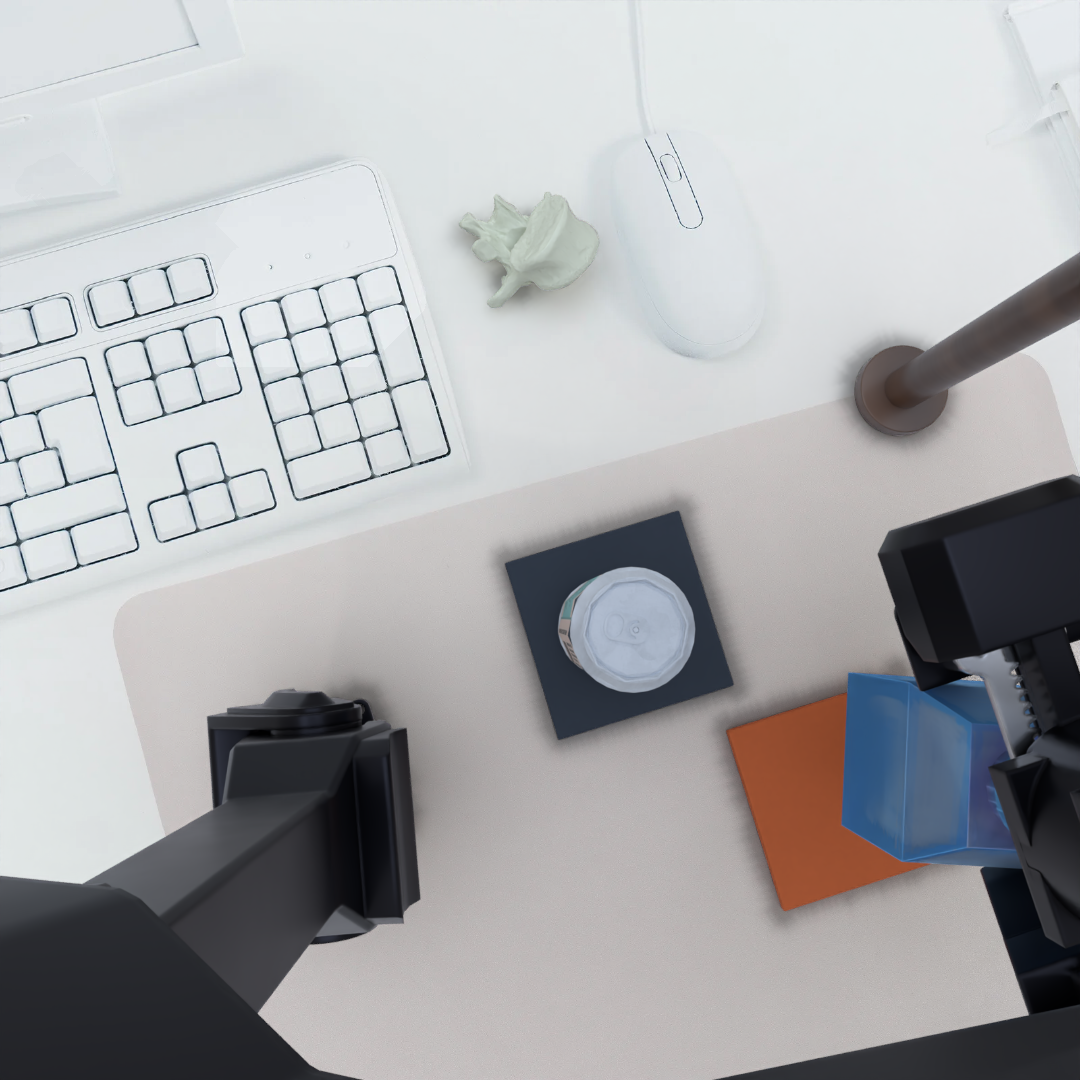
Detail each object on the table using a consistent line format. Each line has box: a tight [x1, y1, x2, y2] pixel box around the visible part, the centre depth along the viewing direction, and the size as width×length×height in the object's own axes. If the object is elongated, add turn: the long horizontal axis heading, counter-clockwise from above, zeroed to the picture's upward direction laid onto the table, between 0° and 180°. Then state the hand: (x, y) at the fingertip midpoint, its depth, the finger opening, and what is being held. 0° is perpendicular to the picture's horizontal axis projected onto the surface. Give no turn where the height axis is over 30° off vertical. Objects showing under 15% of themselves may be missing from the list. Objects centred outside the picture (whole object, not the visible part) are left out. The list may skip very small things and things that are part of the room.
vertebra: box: [458, 191, 600, 309], centre depth 50 cm, size 6×7×4 cm
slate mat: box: [504, 510, 735, 741], centre depth 50 cm, size 9×9×1 cm
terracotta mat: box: [725, 691, 932, 912], centre depth 50 cm, size 9×9×1 cm
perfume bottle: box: [841, 671, 1038, 869], centre depth 36 cm, size 6×6×12 cm
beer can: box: [558, 567, 695, 693], centre depth 44 cm, size 5×5×12 cm
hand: (960, 768), depth 38 cm, fingers closed on perfume bottle, 7 cm apart
